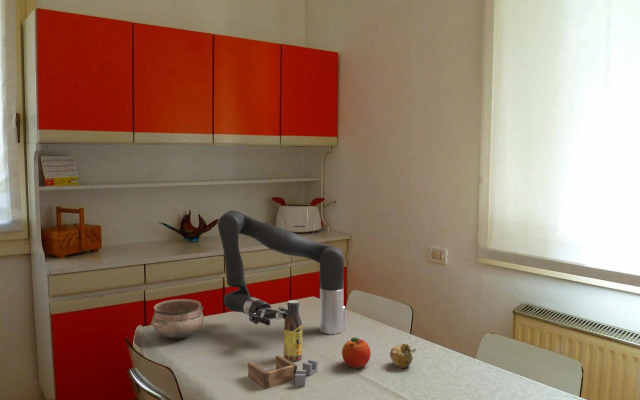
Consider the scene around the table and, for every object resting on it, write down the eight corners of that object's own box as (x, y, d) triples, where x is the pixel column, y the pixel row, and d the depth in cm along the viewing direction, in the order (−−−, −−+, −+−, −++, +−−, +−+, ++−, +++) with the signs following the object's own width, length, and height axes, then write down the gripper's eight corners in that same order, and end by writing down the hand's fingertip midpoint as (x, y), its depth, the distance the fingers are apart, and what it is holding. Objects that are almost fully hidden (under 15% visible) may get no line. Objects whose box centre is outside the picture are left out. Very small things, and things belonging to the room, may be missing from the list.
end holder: (278, 368, 176) (278, 354, 175) (297, 379, 167) (297, 365, 167) (248, 376, 169) (248, 362, 169) (265, 388, 161) (265, 374, 160)
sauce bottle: (299, 362, 180) (299, 305, 178) (281, 361, 182) (281, 303, 180) (304, 355, 187) (304, 299, 185) (286, 354, 188) (286, 298, 186)
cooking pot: (170, 352, 189) (169, 318, 188) (135, 341, 199) (134, 309, 198) (219, 332, 210) (219, 301, 209) (185, 323, 220) (184, 294, 219)
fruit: (374, 362, 181) (375, 333, 180) (364, 373, 172) (365, 342, 171) (348, 357, 185) (348, 329, 184) (337, 367, 176) (337, 338, 175)
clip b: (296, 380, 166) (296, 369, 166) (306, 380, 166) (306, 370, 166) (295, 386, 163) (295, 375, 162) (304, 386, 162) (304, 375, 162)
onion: (407, 360, 183) (408, 337, 182) (416, 369, 175) (417, 345, 175) (386, 362, 182) (386, 339, 181) (394, 371, 174) (395, 347, 173)
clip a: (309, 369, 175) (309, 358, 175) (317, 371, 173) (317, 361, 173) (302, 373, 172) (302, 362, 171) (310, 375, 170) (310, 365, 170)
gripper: (240, 302, 199) (262, 313, 185) (273, 296, 207) (296, 306, 194) (240, 322, 199) (262, 334, 186) (273, 315, 208) (296, 327, 195)
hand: (279, 320), depth 190 cm, fingers open, 8 cm apart
